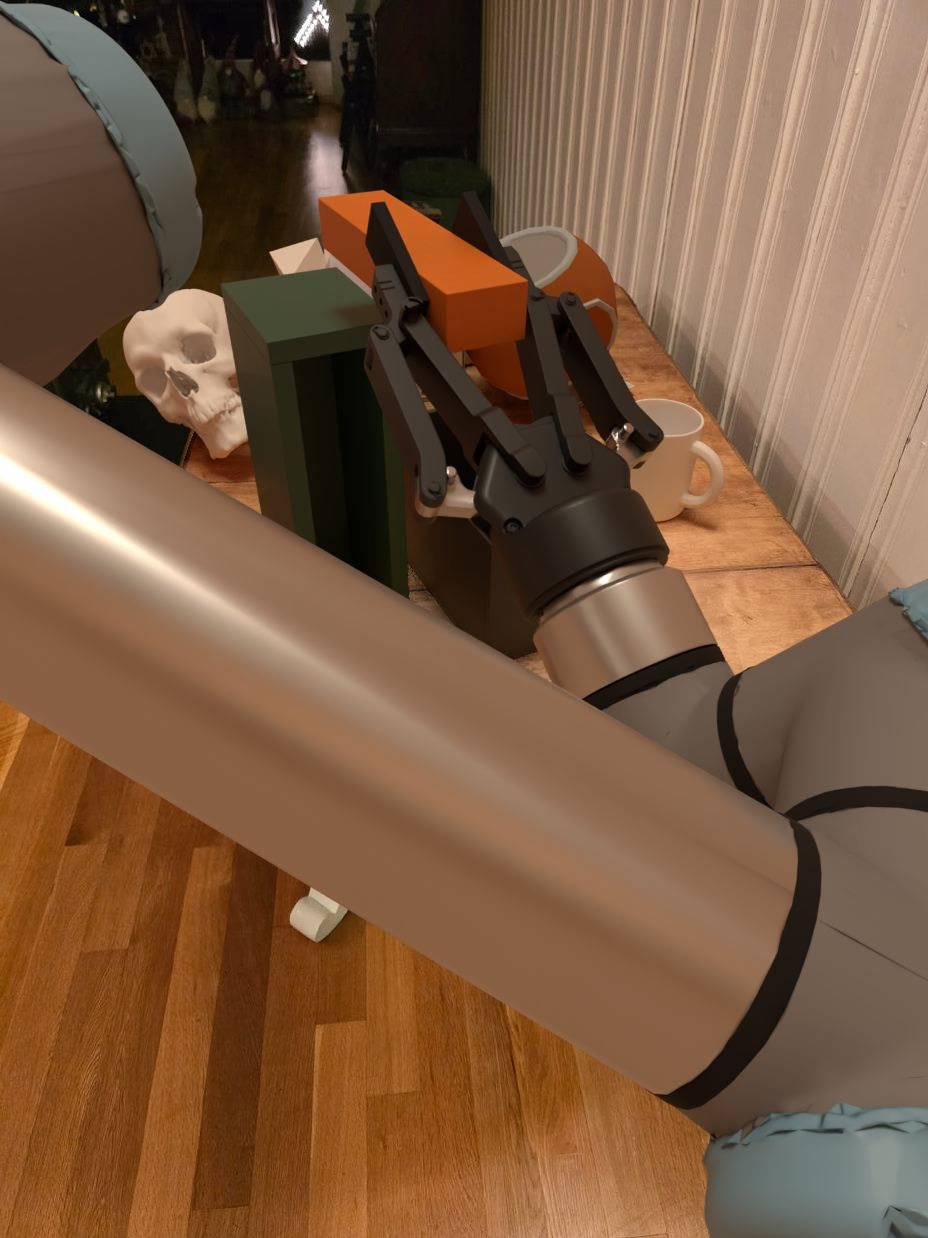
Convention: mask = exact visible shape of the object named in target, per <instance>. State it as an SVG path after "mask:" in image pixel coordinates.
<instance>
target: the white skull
mask: <svg viewBox="0 0 928 1238" xmlns="http://www.w3.org/2000/svg"><path fill="white" fill-rule="evenodd" d="M122 348H123V354H124V358H125V361H126V364H127V366H128V368H129V369H130V371H131V373H132V374H133V376H134V382H135V387H136V389H137V390H138V391H139V392H140V393H141V394H143V395H144V397H146V398H147V399H148V401H150V402H151V403H152V405H154V407H155V408H156V409H157V411H158V413H159V414H160V415H161V417H162V418H164V419H165V421H166V422H168V423H171V424H176V425H181V424H182V425H183V426H184V427H186V428H189V429H191V430H193V431H194V432H195V433H196V434H197V435H198V436H199V438H200V439H201V440H202V442H203V443H204V446H205V447H206V449H207V450H208V452H209V456H210V458H211V459H212V460H216V459H226V458H227V457H228V456H229V455H230V454H231V452H232V451H234V450H235V449H236V448H238V447H239V446H241V445H242V444H244V443H246V442H248V436H247V431H246V425H245V419H244V414H243V408H242V403H241V397H240V391H239V386H238V380H237V375H236V369H235V363H234V358H233V352H232V346H231V341H230V335H229V330H228V324H227V318H226V313H225V307H224V302H223V297H221V296H220V295H218V294H215V293H212V292H209V291H206V290H202V289H198V288H190V289H189V288H186V289H185V288H184V289H178V290H176V291H175V292H174V293H172V294H171V295H169V296H168V297H167V299H166V301H165V302H164V303H163V304H162V305H161V306H160V307H158V308H156V309H154V310H146V311H139V312H137V313H135V314H133V315H132V318H131V319H130V321H129V322H128V323H127V325H126V327H125V329H124V331H123V336H122Z"/></svg>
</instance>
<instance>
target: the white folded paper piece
mask: <svg viewBox="0 0 928 1238" xmlns="http://www.w3.org/2000/svg"><path fill="white" fill-rule="evenodd" d="M322 248H323V247H322V246H321V244H320V241H319V238H318V237H314V238H311V239H308V240H305V241H301V242H297V243H295V244H292V245H288V246H284V247H282V248H278V249H275V250H272V251H269V255H270V257H271V259H272V262H273V264H274V266H275V268H276V270H277V273H278V275H284V274H291V273H298V272H305V271H312V270H319V269H325V267H326V264H327V261H328V259H329V256H330V253H329V252H328V251H327V250H326V249H324V248H323V249H322ZM323 251H324V254H323Z"/></svg>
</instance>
